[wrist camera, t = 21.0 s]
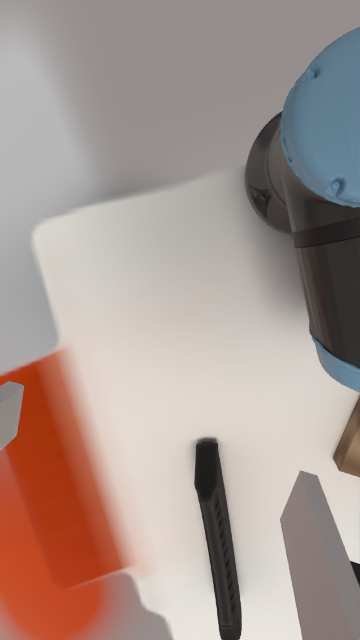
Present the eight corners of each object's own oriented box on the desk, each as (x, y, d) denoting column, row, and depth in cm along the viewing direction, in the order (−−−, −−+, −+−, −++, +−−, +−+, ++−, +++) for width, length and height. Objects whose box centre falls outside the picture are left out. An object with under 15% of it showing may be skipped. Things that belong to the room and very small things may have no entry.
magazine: (188, 460, 45) (216, 708, 43) (213, 459, 45) (242, 710, 42) (202, 428, 62) (222, 604, 60) (220, 426, 61) (242, 604, 59)
